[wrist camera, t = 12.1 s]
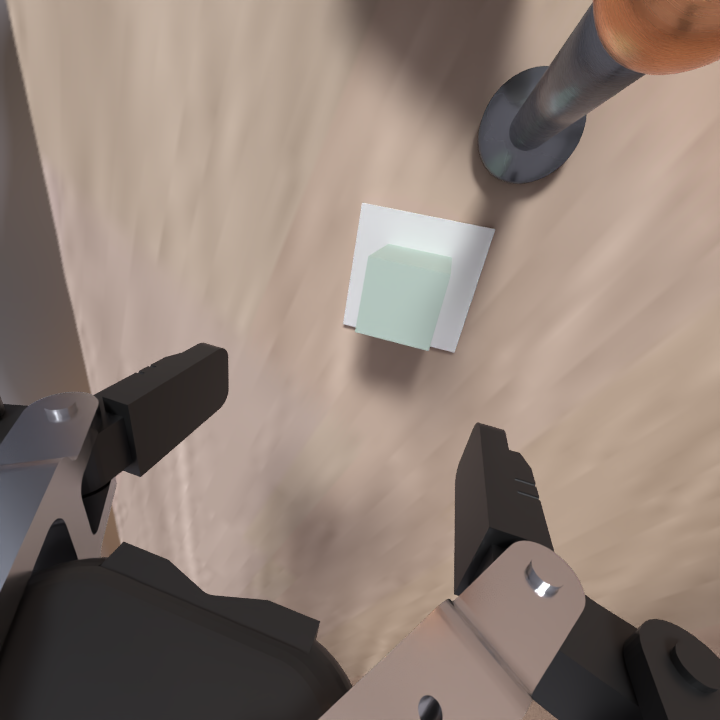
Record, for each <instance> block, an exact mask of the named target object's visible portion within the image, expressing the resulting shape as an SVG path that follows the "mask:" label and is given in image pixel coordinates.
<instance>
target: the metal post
mask: <svg viewBox="0 0 720 720" xmlns="http://www.w3.org/2000/svg"><path fill="white" fill-rule="evenodd" d="M719 59H720V0H593V3H592V4H591V6H590V7H589V9H588V10H587V12H586V13H585V14H584V16H583V17H582V19H581V20H580V22H579V23H578V25H577V26H576V28H575V29H574V31H573V32H572V34H571V35H570V36H569V38H568V39H567V41H566V42H565V44H564V45H563V47H562V48H561V50H560V51H559V53H558V54H557V55H556V57H555V58H554V60H553V61H552V63H551V64H550V66H541V67H534V68H530V69H527V70H525V71H522V72H520V73H519V74H517V75H515V76H514V77H512V78H511V79H509V80H508V81H507V82H506V83H505V84H503V85H502V86H501V87H500V89H499V90H498V91H497V92H496V93H495V95H494V96H493V97H492V99H491V100H490V102H489V104H488V105H487V108H486V110H485V112H484V115H483V118H482V121H481V124H480V128H479V134H478V148H479V153H480V157H481V160H482V162H483V164H484V166H485V167H486V169H487V170H488V171H489V172H490V173H491V174H492V175H493V176H494V177H496V178H497V179H499V180H501V181H504V182H507V183H513V184H522V183H528V182H532V181H535V180H538V179H541V178H543V177H545V176H547V175H549V174H551V173H552V172H554V171H555V170H556V169H558V168H559V167H560V166H561V165H562V164H563V163H564V162H565V161H566V160H567V159H568V158H569V157H570V155H571V154H572V153H573V151H574V150H575V148H576V146H577V145H578V143H579V141H580V138H581V136H582V133H583V130H584V127H585V122H586V114H588V113H589V112H590V111H592V110H593V109H595V108H596V107H598V106H599V105H601V104H602V103H604V102H605V101H607V100H608V99H610V98H611V97H613V96H614V95H616V94H617V93H618V92H620V91H621V90H623V89H624V88H626V87H627V86H629V85H630V84H632V83H633V82H635V81H636V80H638V79H639V78H641V77H642V76H644V75H645V74H649V75H666V74H675V73H681V72H685V71H690V70H694V69H697V68H700V67H702V66H705V65H708V64H710V63H713V62H715V61H717V60H719Z"/></svg>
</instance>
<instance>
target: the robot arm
mask: <svg viewBox="0 0 720 720" xmlns="http://www.w3.org/2000/svg"><path fill="white" fill-rule="evenodd" d="M228 389H229V388H228V353H227V351H226V350H225V349H223V348H220V347H216V346H213V345H209V344H206V343H199V344H197V345H196V346H194V347H192V348H190V349H188V350H186V351H185V352H183V353H179V354H175V355H172V356H168V357H165V358H163V359H161V360H159V361H157V362H155V363H153V364H151V366H150V367H149V366H148V367H146V368H144V369H142V370H140V371H139V373H134V374H132V375H131V376H129V377H127V378H125V379H123V380H121V381H119V382H117V383H115V384H114V385H112V386H110V387H108V388H106V389H104V390H102V391H100V392H98V393H97V394H95V395H91V394H88V393H83V392H67V393H60V394H55V395H51V396H48V397H45V398H43V399H40V400H38V401H36V402H34V403H32V404H31V405H29V406H23V405H9V404H3V402H2V400H1V397H0V720H522V719H523V717H524V716H525V714H526V712H527V710H528V708H529V707H530V705H531V702H532V700H534V701H536V702H537V703H538V704H539V705H541V706H542V707H543V708H544V709H546V710H547V711H548V712H549V713H551V714H552V715H553V716H554V717H556V718H557V719H558V720H720V659H719V658H718V657H717V656H716V655H715V654H714V653H713V652H712V651H711V650H710V649H709V648H708V647H707V646H706V645H705V644H703V643H702V642H701V641H700V640H698V639H697V638H696V637H694V636H693V635H692V634H690V633H689V632H687V631H686V630H684V629H682V628H680V627H679V626H677V625H674V624H672V623H670V622H667V621H664V620H658V619H650V620H648V621H646V622H644V623H643V624H642V625H641V626H640V627H639V628H638V629H637V628H635V627H634V626H632V625H631V624H629V623H627V622H626V621H624V620H623V619H621V618H619V617H618V616H616V615H615V614H613V613H612V612H610V611H608V610H607V609H605V608H604V607H602V606H600V605H599V604H597V603H596V602H594V601H593V600H591V599H590V598H589V597H588V596H586V595H585V593H584V590H583V587H582V584H581V582H580V580H579V579H578V577H577V575H576V574H575V572H574V571H573V570H572V568H571V567H570V566H569V565H568V564H567V563H566V562H565V561H564V560H563V559H562V558H561V557H560V556H559V555H557V554H556V553H555V552H554V549H553V546H552V542H551V538H550V535H549V531H548V527H547V524H546V520H545V517H544V513H543V509H542V506H541V502H540V500H539V495H538V491H537V488H536V487H535V480H534V477H533V473H532V469H531V468H530V466H529V465H528V463H527V462H526V461H525V459H524V458H523V457H522V455H521V454H520V453H518V452H514V451H511V450H509V448H508V443H507V438H506V433H505V431H504V430H502V429H499V428H495V427H492V426H488V425H485V424H481V423H476V424H475V426H474V428H473V430H472V433H471V435H470V438H469V440H468V443H467V445H466V447H465V450H464V452H463V455H462V457H461V460H460V462H459V465H458V469H457V473H456V479H455V553H454V594H455V595H458V597H457V598H456V599H455V600H454V601H451V600H450V599H447V600H445V601H444V602H442V603H441V604H440V605H439V606H438V607H436V608H435V609H434V610H433V611H432V612H431V613H430V614H429V615H428V616H427V617H426V618H425V619H424V620H423V621H422V622H421V623H420V624H418V625H417V626H416V627H415V628H414V629H413V630H412V631H411V632H410V633H409V634H408V635H407V636H406V637H405V638H404V639H403V640H402V641H401V642H399V643H398V644H397V645H396V646H395V647H394V648H393V649H392V650H391V651H390V652H389V653H388V654H387V655H386V656H385V657H384V658H383V659H382V660H380V661H379V662H378V663H377V664H376V665H375V666H374V667H373V668H372V669H371V670H370V671H369V672H368V673H367V674H366V675H365V676H364V677H363V678H362V679H360V680H359V681H358V682H357V683H356V684H355V685H354V686H352V685H351V683H350V681H349V679H348V677H347V675H346V674H345V672H344V671H343V669H342V668H341V666H340V665H339V663H338V662H337V661H336V660H335V658H334V657H333V656H332V655H331V654H330V653H329V652H328V651H327V649H326V648H325V647H323V646H322V645H321V644H320V643H319V642H318V641H317V640H316V637H317V633H318V628H319V623H320V621H318V620H315V619H313V618H310V617H308V616H305V615H303V614H300V613H298V612H296V611H293V610H291V609H288V608H286V607H283V606H281V605H278V604H276V603H273V602H271V601H268V600H259V599H248V598H237V597H226V596H215V595H209V594H207V593H205V592H204V591H202V590H201V589H200V588H199V587H198V586H197V585H196V584H195V583H194V582H192V581H191V580H190V579H189V578H188V577H187V576H186V575H185V574H184V573H182V572H181V571H180V570H179V569H178V568H177V567H176V566H175V565H174V564H172V563H171V562H170V561H169V560H167V559H165V558H163V557H160V556H158V555H155V554H153V553H150V552H148V551H145V550H143V549H140V548H138V547H135V546H133V545H131V544H128V543H126V542H123V543H122V544H121V545H120V546H119V547H118V548H117V549H116V550H115V551H114V552H113V553H112V554H111V555H110V556H109V557H108V558H107V557H102V558H101V546H102V541H103V538H104V534H105V529H106V526H107V521H108V517H109V513H110V509H111V505H112V501H113V497H114V493H115V489H116V484H117V483H116V478H115V476H117V475H118V474H119V473H120V472H122V471H126V472H128V473H131V474H134V475H137V476H139V477H141V476H142V475H144V474H145V473H146V472H147V471H148V470H149V469H150V468H152V467H153V466H154V465H155V464H156V463H157V462H159V461H160V460H161V459H162V458H163V457H164V456H165V455H167V454H168V453H169V452H170V451H171V450H172V449H174V448H175V447H176V446H177V445H178V444H179V443H180V442H182V441H183V440H184V439H185V438H186V437H187V436H189V435H190V434H191V433H192V432H193V431H194V430H195V429H197V428H198V427H199V426H200V425H201V424H202V423H204V422H205V421H206V420H207V419H208V418H209V417H211V416H212V415H213V414H214V413H215V412H216V411H217V410H219V409H220V408H221V407H222V405H223V404H224V402H225V401H226V398H227V395H228Z"/></svg>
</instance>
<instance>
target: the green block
mask: <svg viewBox="0 0 720 720" xmlns="http://www.w3.org/2000/svg"><path fill="white" fill-rule="evenodd" d="M451 266H452V257H448V256H443V255H438V254H434V253H429V252H425V251H420V250H415V249H411V248H406V247H401V246H397V245H392V244H387V245H386V246H384V247H382V248H381V249H379V250H378V251H376V252H374V253H373V254H371V255H369V256H368V261H367V266H366V272H365V278H364V284H363V289H362V295H361V301H360V306H359V312H358V318H357V324H356V329H355V332H357V333H361V334H365V335H369V336H372V337H376V338H380V339H384V340H388V341H392V342H396V343H399V344H403V345H407V346H411V347H415V348H419V349H423V350H427V351H429V348H430V345H431V341H432V338H433V334H434V331H435V327H436V324H437V320H438V317H439V314H440V310H441V307H442V303H443V300H444V296H445V293H446V290H447V286H448V283H449V279H450V276H451Z"/></svg>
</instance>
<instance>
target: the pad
mask: <svg viewBox="0 0 720 720" xmlns="http://www.w3.org/2000/svg"><path fill="white" fill-rule="evenodd" d="M494 232H495V229H492V228H487V227H482V226H477V225H472V224H467V223H462V222H457V221H452V220H447V219H442V218H437V217H432V216H427V215H422V214H417V213H412V212H407V211H402V210H397V209H392V208H387V207H382V206H377V205H372V204H367V203H362V207H361V214H360V220H359V226H358V233H357V239H356V245H355V252H354V258H353V264H352V271H351V277H350V284H349V290H348V296H347V303H346V309H345V315H344V322H343V324H345V325H349V326H353V327H356V324H357V318H358V312H359V306H360V301H361V295H362V289H363V284H364V278H365V272H366V266H367V261H368V256H369V255H371V254H373V253H374V252H376V251H378V250H379V249H381V248H382V247H384V246H386V245H387V244H392V245H397V246H401V247H406V248H411V249H415V250H420V251H425V252H429V253H434V254H438V255H443V256H448V257H452V266H451V276H450V279H449V283H448V286H447V290H446V293H445V296H444V300H443V303H442V307H441V310H440V314H439V317H438V320H437V324H436V327H435V331H434V334H433V338H432V341H431V345H430V347H434V348H438V349H442V350H446V351H450V352H455V349H456V346H457V343H458V340H459V337H460V334H461V331H462V328H463V325H464V322H465V319H466V316H467V313H468V310H469V307H470V304H471V301H472V298H473V295H474V292H475V289H476V286H477V283H478V280H479V277H480V274H481V271H482V268H483V265H484V262H485V259H486V256H487V253H488V250H489V247H490V244H491V241H492V238H493V235H494Z"/></svg>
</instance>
